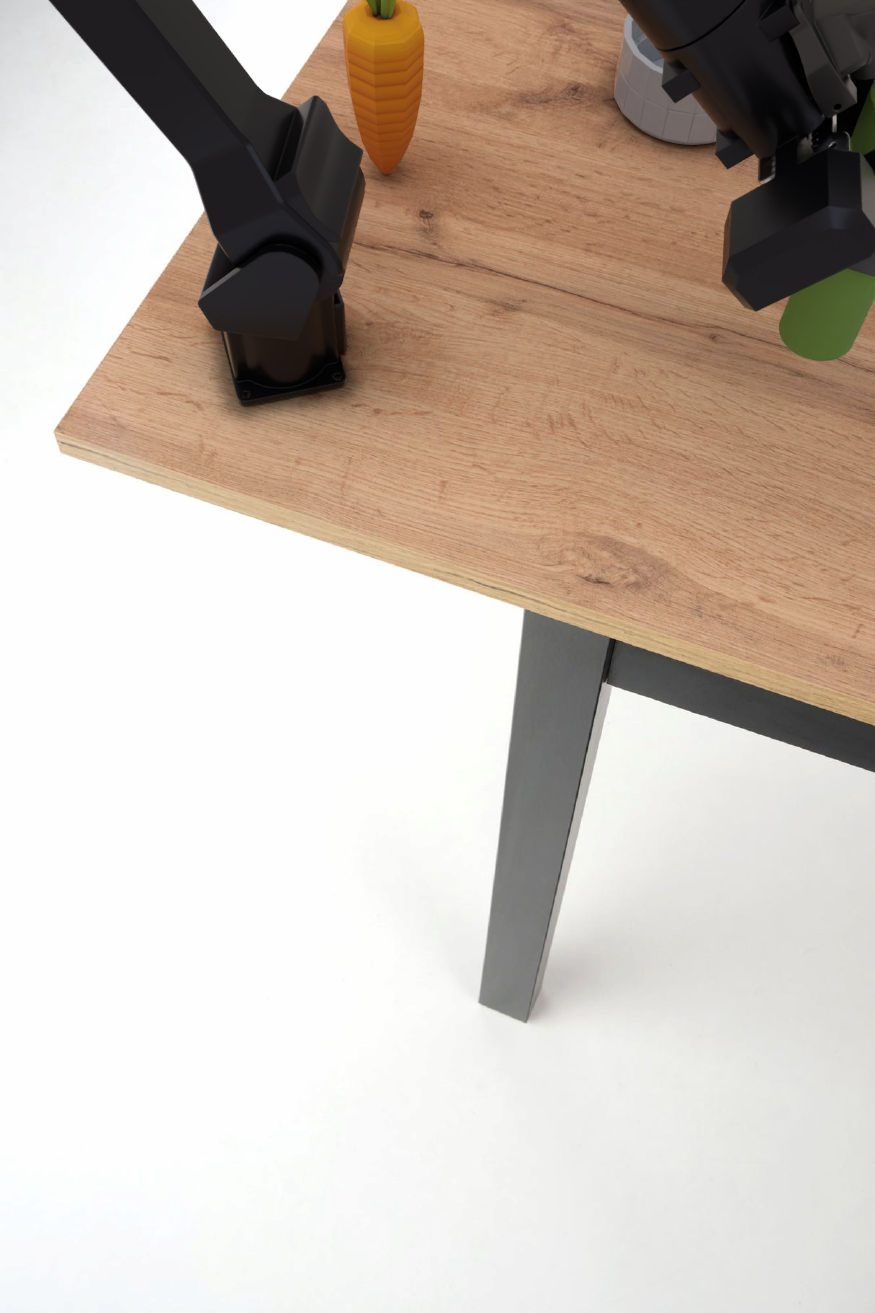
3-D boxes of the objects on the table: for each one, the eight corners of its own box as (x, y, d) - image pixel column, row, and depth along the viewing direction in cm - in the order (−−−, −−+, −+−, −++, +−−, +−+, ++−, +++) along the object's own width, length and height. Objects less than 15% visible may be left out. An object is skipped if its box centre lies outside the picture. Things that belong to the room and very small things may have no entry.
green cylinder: (812, 372, 61) (915, 142, 48) (763, 323, 62) (850, 88, 50) (869, 342, 62) (984, 109, 50) (819, 294, 63) (919, 57, 51)
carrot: (415, 204, 76) (415, -21, 63) (341, 192, 77) (326, -34, 64) (430, 153, 79) (434, -74, 65) (358, 142, 79) (348, -86, 66)
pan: (642, 160, 79) (655, 94, 74) (593, 66, 83) (603, -2, 79) (778, 136, 80) (800, 70, 76) (723, 44, 85) (740, -23, 80)
